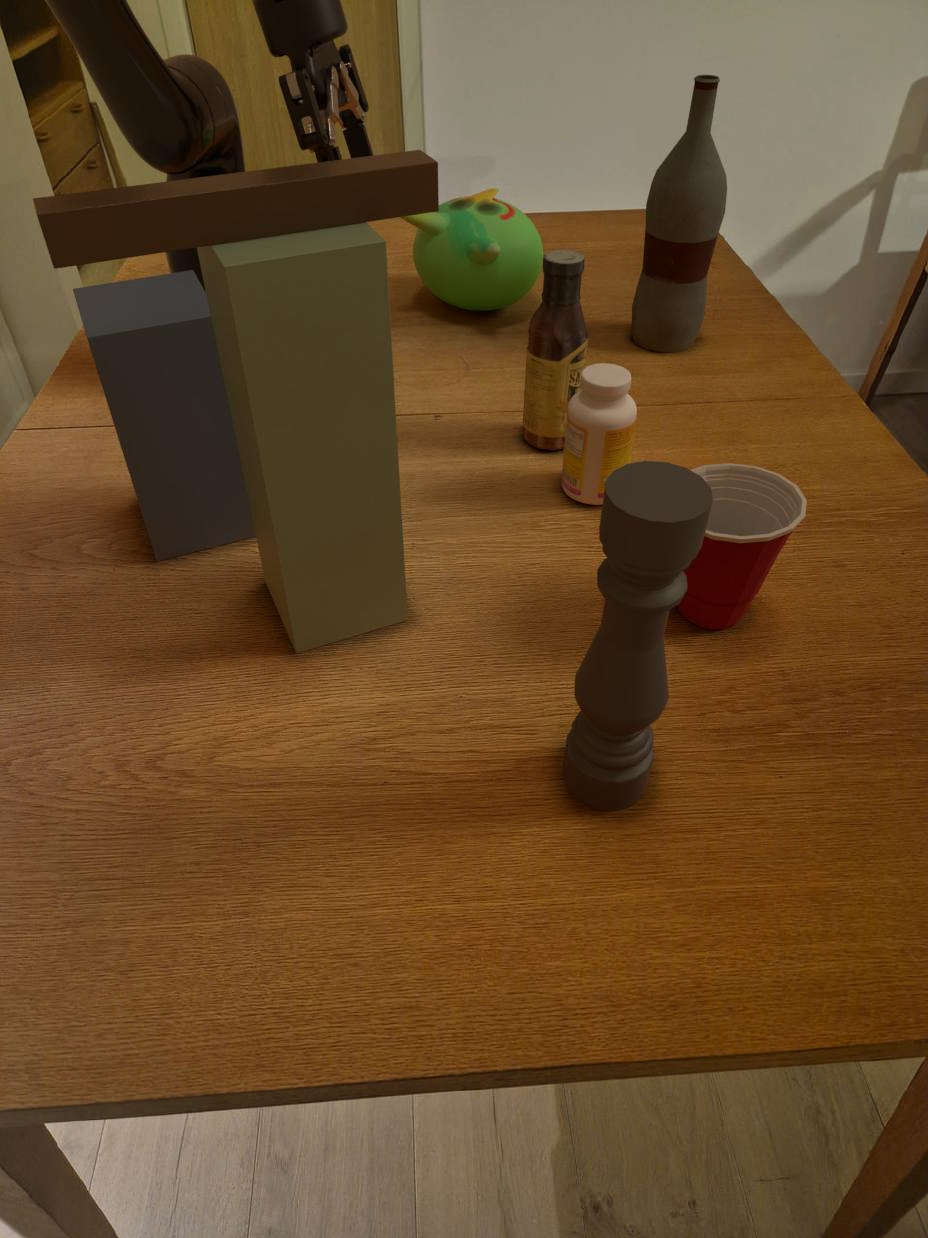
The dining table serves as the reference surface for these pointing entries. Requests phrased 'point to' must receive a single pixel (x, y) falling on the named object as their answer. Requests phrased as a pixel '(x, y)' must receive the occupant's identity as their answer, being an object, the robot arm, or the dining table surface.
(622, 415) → the supplement bottle
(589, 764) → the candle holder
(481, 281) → the toy bird
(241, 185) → the bar
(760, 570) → the plastic cup
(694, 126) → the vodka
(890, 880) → the dining table surface
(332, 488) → the tall stand
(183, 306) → the blue gray rectangular block
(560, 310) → the sauce bottle
